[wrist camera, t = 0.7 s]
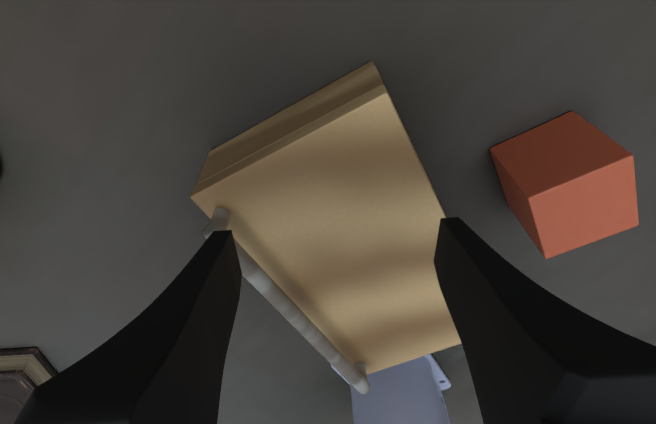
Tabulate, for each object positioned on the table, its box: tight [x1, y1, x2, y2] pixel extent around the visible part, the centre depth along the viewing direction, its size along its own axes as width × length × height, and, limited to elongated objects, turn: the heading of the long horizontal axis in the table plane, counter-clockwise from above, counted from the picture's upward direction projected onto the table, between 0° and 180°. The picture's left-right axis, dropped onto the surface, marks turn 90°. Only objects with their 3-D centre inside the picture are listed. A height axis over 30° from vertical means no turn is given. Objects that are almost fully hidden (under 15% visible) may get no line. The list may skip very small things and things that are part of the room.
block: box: [490, 111, 639, 259], centre depth 21 cm, size 5×5×5 cm
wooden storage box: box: [190, 61, 461, 394], centre depth 23 cm, size 18×10×6 cm, turn 29°
